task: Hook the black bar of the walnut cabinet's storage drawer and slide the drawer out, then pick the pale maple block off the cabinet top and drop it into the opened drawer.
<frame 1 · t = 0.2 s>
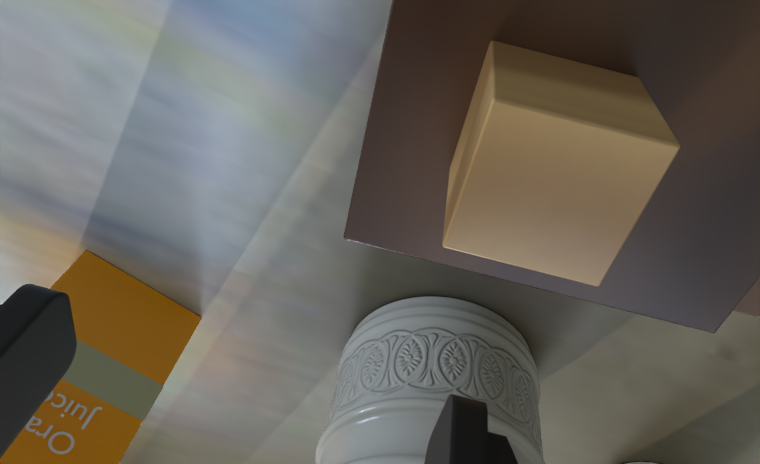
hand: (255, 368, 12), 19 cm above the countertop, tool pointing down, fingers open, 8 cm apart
orange juice: (127, 312, 41), on the countertop
cabinet: (564, 47, 26), on the countertop
drawer: (695, 116, 22), point 5 cm above the countertop, slide at 0.5 cm
block: (537, 126, 18), point 10 cm above the countertop, touching cabinet
jar: (438, 361, 39), on the countertop
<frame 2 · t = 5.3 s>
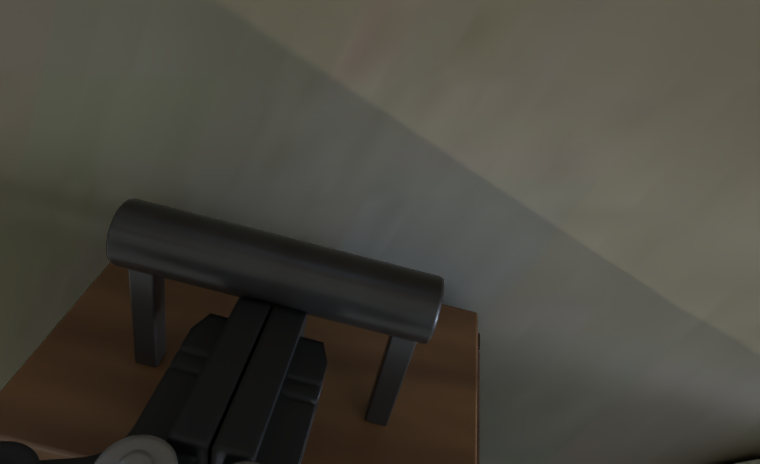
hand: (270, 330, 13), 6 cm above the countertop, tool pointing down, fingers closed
drawer: (261, 448, 18), point 5 cm above the countertop, slide at 0.5 cm, touching gripper
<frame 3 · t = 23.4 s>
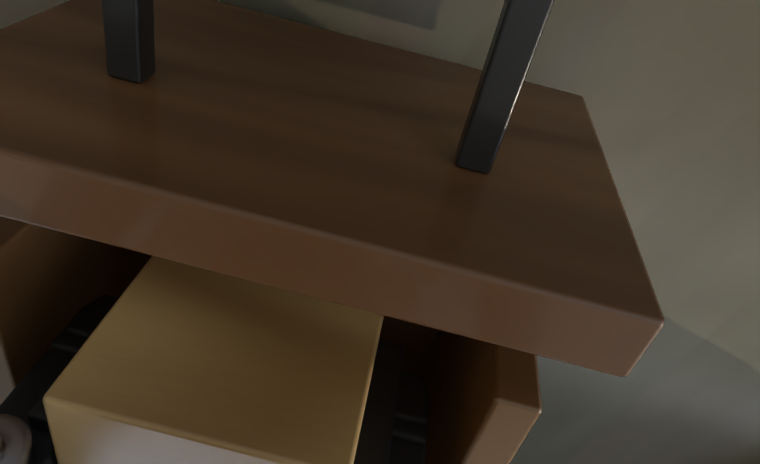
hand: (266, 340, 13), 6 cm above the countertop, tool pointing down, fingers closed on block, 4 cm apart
drawer: (289, 273, 13), point 5 cm above the countertop, slide at 8.8 cm, touching gripper
block: (275, 323, 13), point 6 cm above the countertop, touching gripper
when the fingers open (8 cm above the countertop, at t = 29.0 s): block drops 6 cm, resting on drawer.
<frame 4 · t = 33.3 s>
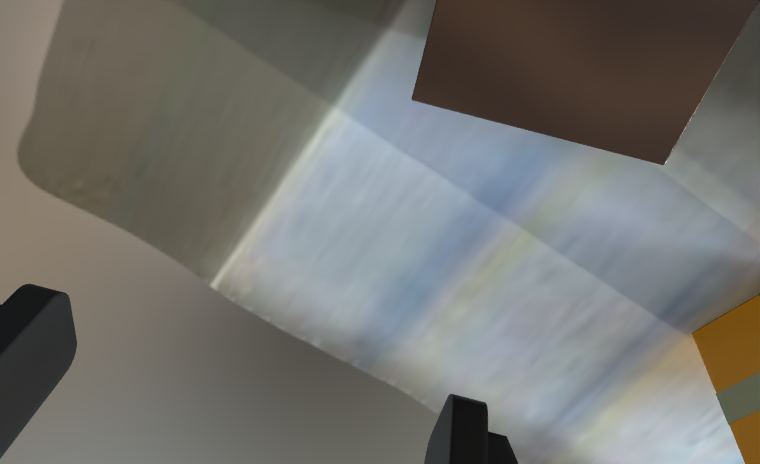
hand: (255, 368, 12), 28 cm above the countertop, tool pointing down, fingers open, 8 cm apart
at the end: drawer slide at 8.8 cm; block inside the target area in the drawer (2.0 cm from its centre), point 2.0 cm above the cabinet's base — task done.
